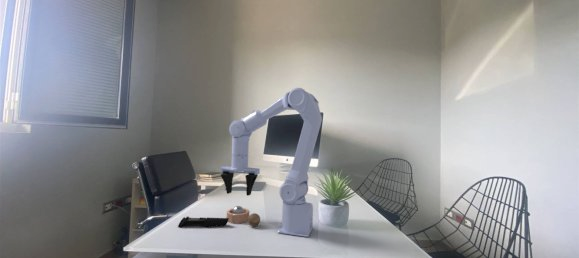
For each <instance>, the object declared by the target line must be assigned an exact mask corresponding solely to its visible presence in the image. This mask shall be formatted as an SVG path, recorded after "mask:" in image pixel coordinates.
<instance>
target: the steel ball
mask: <svg viewBox="0 0 579 258" xmlns="http://www.w3.org/2000/svg"><path fill="white" fill-rule="evenodd" d="M243 208H244V207H242V206H241V205H236V206H234V207H233V208H232V209H233V211H232V214H242V213H244V209H243Z"/></svg>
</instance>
